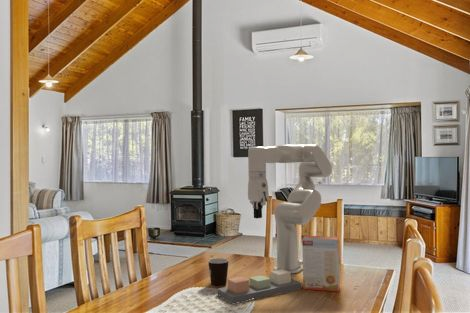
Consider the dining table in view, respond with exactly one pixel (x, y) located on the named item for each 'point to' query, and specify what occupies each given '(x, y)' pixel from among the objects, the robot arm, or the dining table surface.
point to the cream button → (280, 276)
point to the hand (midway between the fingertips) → (257, 217)
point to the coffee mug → (218, 271)
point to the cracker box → (321, 263)
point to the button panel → (258, 291)
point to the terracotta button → (238, 285)
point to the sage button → (260, 282)
